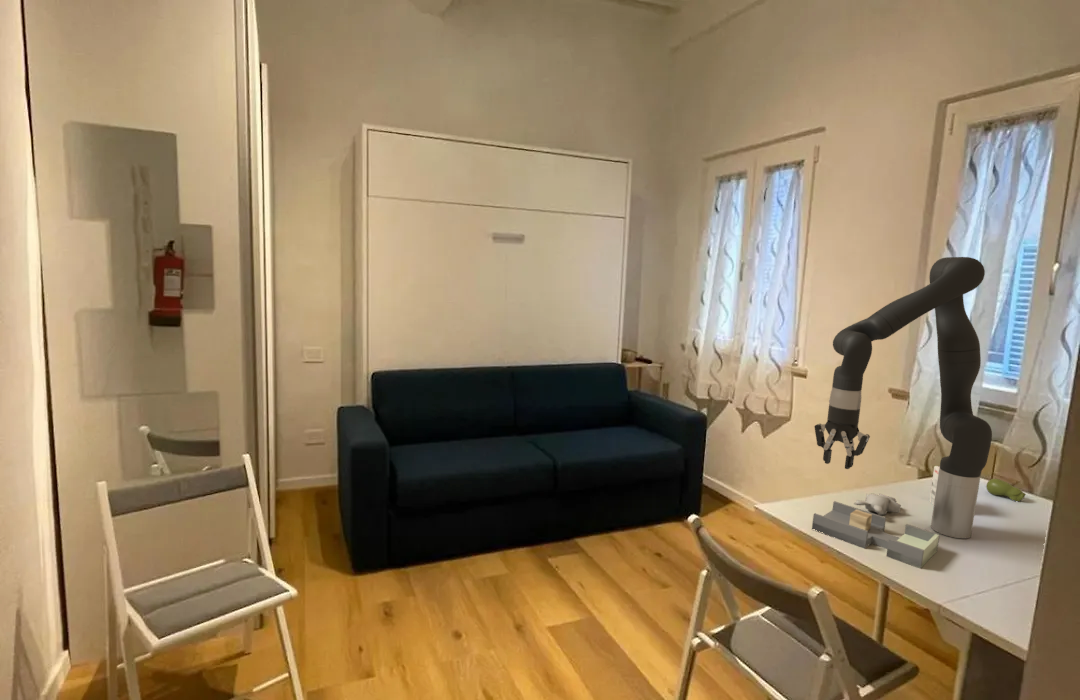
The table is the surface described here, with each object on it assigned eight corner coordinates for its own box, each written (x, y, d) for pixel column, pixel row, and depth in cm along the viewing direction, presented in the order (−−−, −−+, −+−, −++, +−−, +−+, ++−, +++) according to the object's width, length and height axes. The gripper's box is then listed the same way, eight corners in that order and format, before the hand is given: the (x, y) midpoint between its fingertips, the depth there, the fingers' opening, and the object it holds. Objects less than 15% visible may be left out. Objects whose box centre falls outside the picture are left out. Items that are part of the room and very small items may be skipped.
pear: (992, 474, 196) (1029, 488, 189) (986, 488, 197) (1022, 503, 190) (987, 477, 192) (1025, 492, 185) (982, 492, 194) (1019, 507, 187)
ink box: (959, 514, 176) (965, 476, 175) (940, 512, 177) (946, 474, 176) (945, 503, 185) (951, 466, 183) (928, 501, 186) (933, 465, 184)
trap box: (832, 516, 172) (834, 501, 171) (937, 550, 153) (939, 534, 152) (811, 529, 162) (813, 513, 161) (920, 568, 143) (923, 550, 143)
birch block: (854, 523, 162) (856, 509, 162) (870, 528, 160) (872, 514, 159) (848, 527, 160) (850, 513, 159) (864, 532, 157) (866, 518, 156)
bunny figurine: (907, 498, 176) (886, 504, 167) (904, 515, 177) (882, 521, 168) (874, 488, 184) (851, 492, 175) (871, 504, 184) (848, 509, 175)
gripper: (878, 408, 157) (870, 470, 160) (823, 397, 168) (816, 455, 170) (868, 412, 152) (859, 476, 155) (811, 401, 163) (805, 461, 165)
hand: (837, 465), depth 163 cm, fingers open, 4 cm apart
